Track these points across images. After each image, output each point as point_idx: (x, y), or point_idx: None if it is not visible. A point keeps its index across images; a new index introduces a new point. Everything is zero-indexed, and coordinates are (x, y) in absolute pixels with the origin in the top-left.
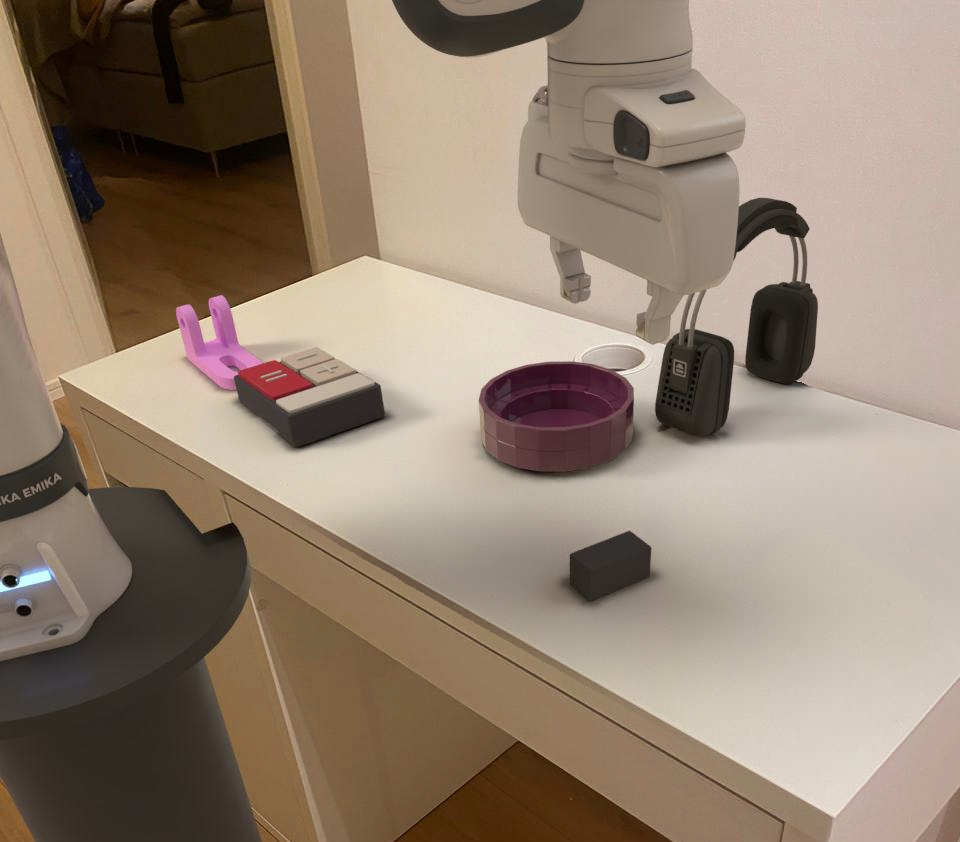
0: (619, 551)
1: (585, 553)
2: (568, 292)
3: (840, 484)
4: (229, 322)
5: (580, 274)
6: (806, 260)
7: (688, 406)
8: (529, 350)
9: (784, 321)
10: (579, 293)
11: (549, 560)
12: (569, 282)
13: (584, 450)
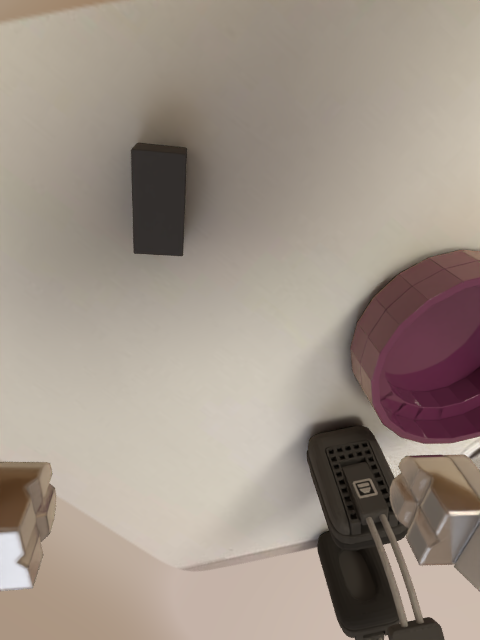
0: (148, 214)
1: (172, 173)
2: (437, 476)
3: (162, 473)
4: None
5: (455, 552)
6: None
7: (332, 455)
8: None
9: (357, 593)
10: (413, 493)
11: (246, 161)
12: (451, 507)
13: (370, 329)
